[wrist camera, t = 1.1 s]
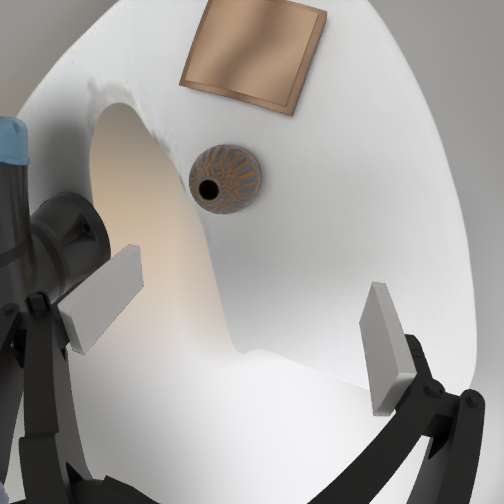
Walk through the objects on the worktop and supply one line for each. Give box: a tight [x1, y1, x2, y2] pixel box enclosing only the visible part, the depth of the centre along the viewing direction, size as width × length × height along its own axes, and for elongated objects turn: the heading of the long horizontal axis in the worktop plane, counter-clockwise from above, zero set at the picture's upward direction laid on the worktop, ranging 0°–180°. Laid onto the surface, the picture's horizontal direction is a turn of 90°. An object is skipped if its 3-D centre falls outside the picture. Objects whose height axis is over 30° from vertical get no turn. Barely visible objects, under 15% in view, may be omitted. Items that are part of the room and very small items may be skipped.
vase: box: [189, 145, 261, 214], centre depth 29 cm, size 7×7×9 cm
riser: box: [179, 0, 327, 116], centre depth 25 cm, size 12×12×3 cm
